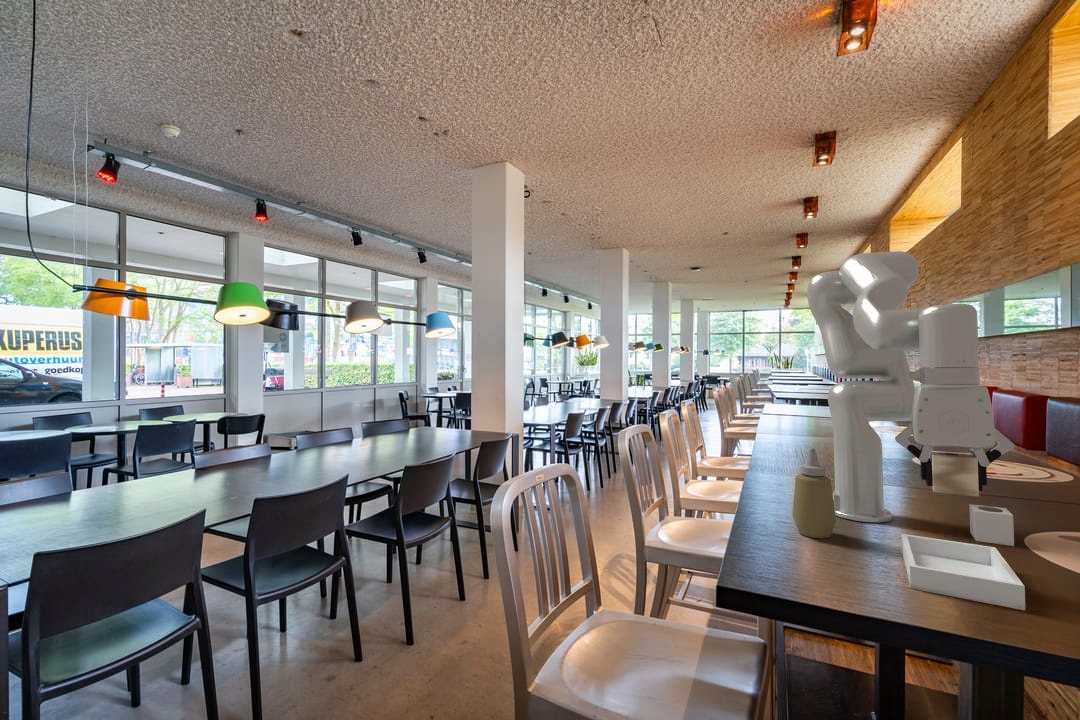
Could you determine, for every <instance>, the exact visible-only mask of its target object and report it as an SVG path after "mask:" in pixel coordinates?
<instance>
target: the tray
mask: <svg viewBox="0 0 1080 720" xmlns="http://www.w3.org/2000/svg"><path fill="white" fill-rule="evenodd" d="M900 536H901V537H900V538H901V541H900V542H901V554H902V558H903V564H904V568H905V570H906V575H907V580H908V583H909V588H910V589H914V590H917V591H918V590H919V591H921V592H922V591H923V592H927V593H928V592H929V593H933V594H939V595H944V596H949V597H955V598H958V599H959V598H960V599H964V600H968V601H974V602H979V603H985V604H990V605H995V606H1000V607H1005V608H1009V609H1010V608H1011V609H1015V610H1020V611H1026V590H1025V588H1026V587H1025V585H1024V584H1023V582H1022V580H1020V577H1018V576H1017V574H1016V572H1015V571H1014V570H1013V569H1012V568H1011V566H1010V565H1009V563H1008V562H1007V561H1006V559H1005V558H1004V557H1003V556H1002V554H1001V553H1000V551H999V550H998V549H997V548H996V546H995V547H994V546H988V545H983V544H982V545H981V544H976V543H975V544H974V543H967V542H961V541H960V542H959V541H953V540H947V539H941V538H933V537H926V536H919V535H914V534H906V533H901V534H900Z"/></svg>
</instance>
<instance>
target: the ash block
mask: <svg viewBox="0 0 1080 720" xmlns="http://www.w3.org/2000/svg"><path fill="white" fill-rule="evenodd" d="M929 458H930V462H931V463H932V479H933V486H932V487H931V486H929V487H930V488H931V490H932V491H933V493H940V494H947V495H948V494H949V495H958V496H959V495H961V496H969V497H980V491H979V484H978V459H977V458H976V457H975V456H974V455H973V453H971V452H959V451H958V452H955V451H943V450H942V451H941V450H932V452H931V455H930V457H929Z"/></svg>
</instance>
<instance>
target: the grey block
mask: <svg viewBox="0 0 1080 720" xmlns="http://www.w3.org/2000/svg"><path fill="white" fill-rule="evenodd" d="M968 506H969V533H970V535H971V536H972V537H973V539H974V540H975V541H976V542H982V543H989V544H995V545H1004V546H1009V547H1010V546H1011V547H1015V536H1014V535H1015V534H1014V533H1015V531H1014V514H1012V513H1011V512H1010V511H1009V510H1008V509H1007V508H1006V507H1001V506H1000V507H998V506H989V505H981V504H973V503H972V504H970V503H969V505H968Z"/></svg>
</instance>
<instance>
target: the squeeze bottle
mask: <svg viewBox="0 0 1080 720" xmlns="http://www.w3.org/2000/svg"><path fill="white" fill-rule="evenodd" d="M799 467H800V469H799V472H800V473H799V474H797V475H795V480H794V482H795V483H794V491H793V492H794V493H793V501H792V502H793V504H792V505H793V506H792V518H793V521H794V523H795V527H796V529H797V532H798V533H799V534H801V535H803V536H806V537H808V538H809V537H810V538H813V539H814V538H815V539H828V538H831V536H832V534H833V531H834V528H835V525H836V522H837V516H836V515H835V508H834V501H833V494H832V493H833V488H832V487H833V486H832V481H831V479H830V478H829V477H828V476H826V466H824V465H821V464H820V463H819V459H818V454H817V450H816V448H812V447H809V448H808V451H807V456H806V460H805V463H803V464H800V465H799Z"/></svg>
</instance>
